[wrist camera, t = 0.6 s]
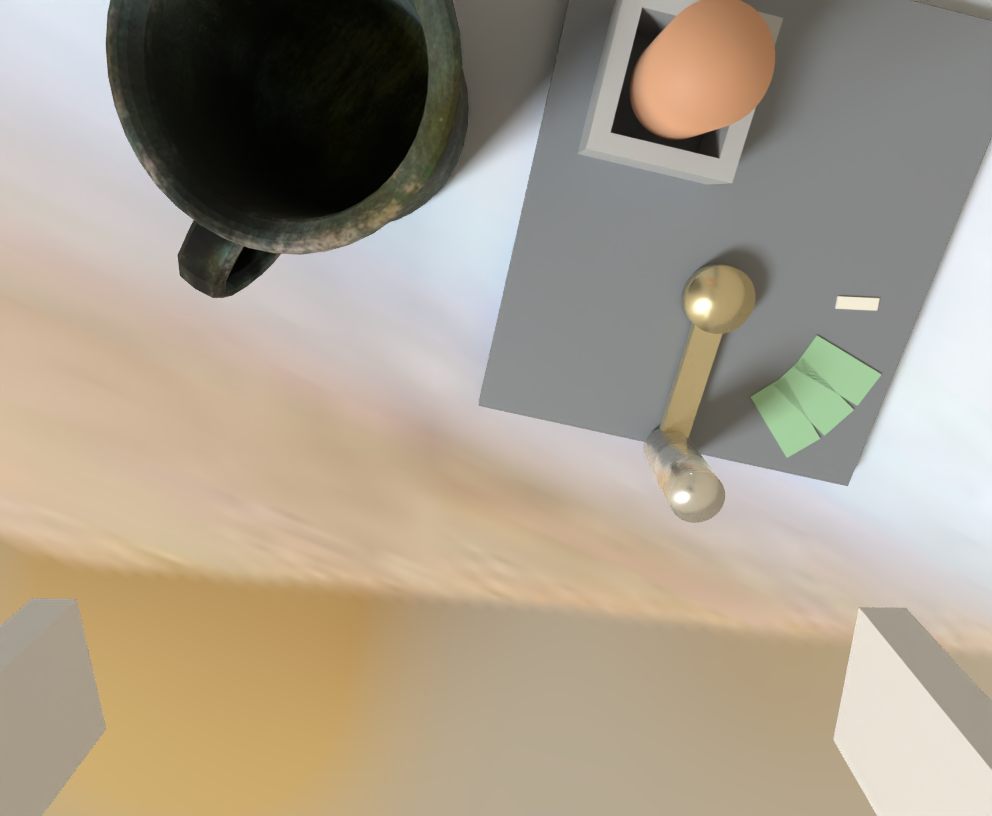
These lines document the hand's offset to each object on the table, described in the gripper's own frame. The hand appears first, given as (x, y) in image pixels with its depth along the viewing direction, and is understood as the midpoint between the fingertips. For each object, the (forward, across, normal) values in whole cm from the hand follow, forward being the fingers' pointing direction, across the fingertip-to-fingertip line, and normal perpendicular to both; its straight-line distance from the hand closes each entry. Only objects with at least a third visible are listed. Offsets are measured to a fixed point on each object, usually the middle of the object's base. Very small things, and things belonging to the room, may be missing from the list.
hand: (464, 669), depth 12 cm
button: (+21, +8, +11) cm, 25 cm away
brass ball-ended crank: (+24, +10, -1) cm, 26 cm away
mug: (+25, -7, +10) cm, 28 cm away
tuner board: (+25, +11, +6) cm, 28 cm away
